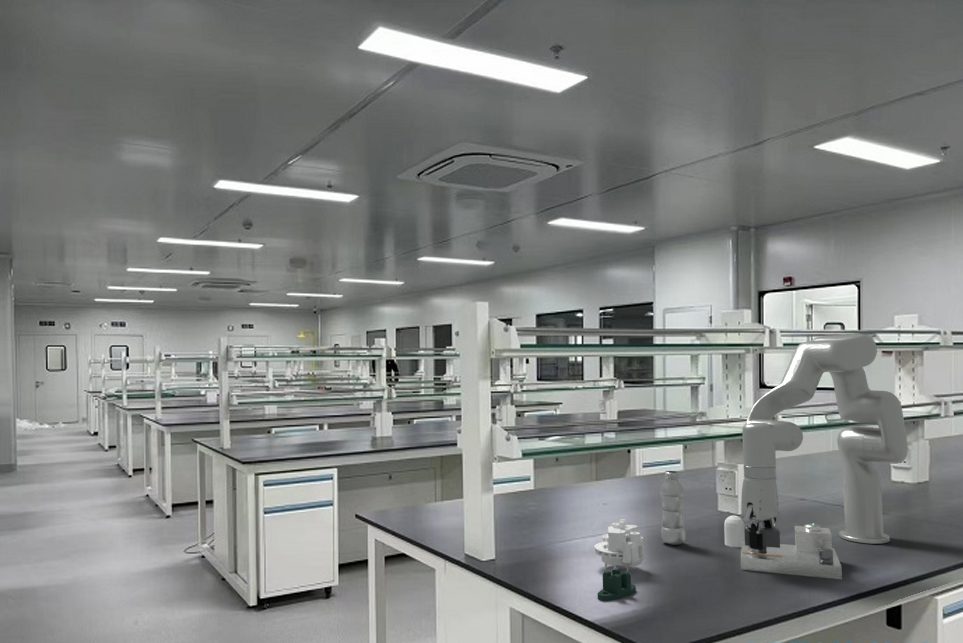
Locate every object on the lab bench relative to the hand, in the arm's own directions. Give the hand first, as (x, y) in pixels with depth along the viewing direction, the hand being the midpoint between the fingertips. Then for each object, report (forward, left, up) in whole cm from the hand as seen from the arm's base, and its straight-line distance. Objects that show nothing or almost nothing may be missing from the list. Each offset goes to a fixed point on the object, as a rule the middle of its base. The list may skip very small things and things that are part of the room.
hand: (762, 546), depth 168 cm
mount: (+32, -30, -5) cm, 44 cm away
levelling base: (-4, +6, -5) cm, 9 cm away
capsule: (-19, -7, -5) cm, 21 cm away
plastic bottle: (-14, -23, -5) cm, 28 cm away
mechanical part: (+14, -33, -5) cm, 36 cm away
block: (0, 0, -2) cm, 2 cm away
